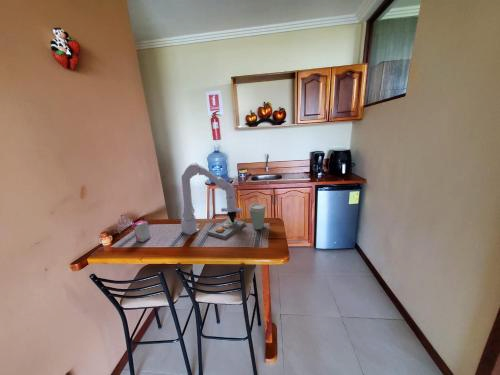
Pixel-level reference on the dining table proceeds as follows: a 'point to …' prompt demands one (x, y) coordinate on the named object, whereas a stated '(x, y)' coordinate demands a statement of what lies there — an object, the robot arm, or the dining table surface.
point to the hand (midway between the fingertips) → (232, 221)
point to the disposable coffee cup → (257, 215)
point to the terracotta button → (219, 229)
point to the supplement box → (141, 231)
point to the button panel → (226, 232)
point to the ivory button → (226, 225)
